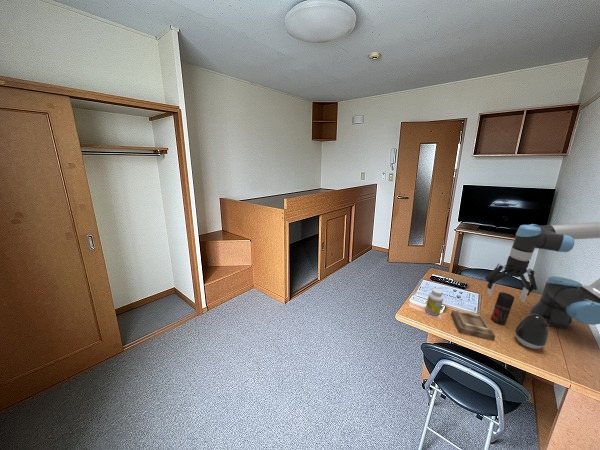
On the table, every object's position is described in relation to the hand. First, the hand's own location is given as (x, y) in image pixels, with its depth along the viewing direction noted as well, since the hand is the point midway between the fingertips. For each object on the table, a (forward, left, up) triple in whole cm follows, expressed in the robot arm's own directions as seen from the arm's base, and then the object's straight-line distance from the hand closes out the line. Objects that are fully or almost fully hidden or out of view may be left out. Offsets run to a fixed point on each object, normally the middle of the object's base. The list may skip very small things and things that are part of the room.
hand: (505, 297), depth 119 cm
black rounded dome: (-6, +14, -14) cm, 21 cm away
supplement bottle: (+31, +4, -14) cm, 34 cm away
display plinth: (+15, +10, -14) cm, 22 cm away
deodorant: (0, 0, -14) cm, 14 cm away
